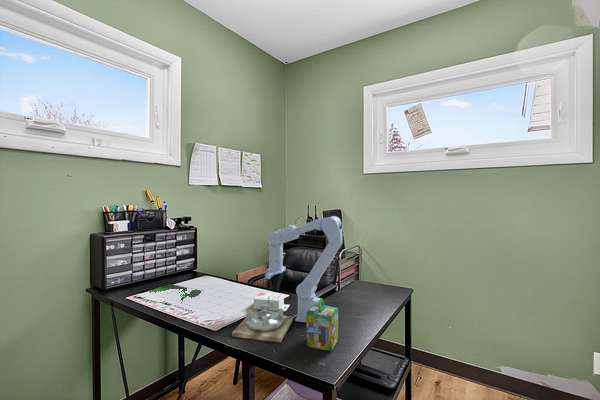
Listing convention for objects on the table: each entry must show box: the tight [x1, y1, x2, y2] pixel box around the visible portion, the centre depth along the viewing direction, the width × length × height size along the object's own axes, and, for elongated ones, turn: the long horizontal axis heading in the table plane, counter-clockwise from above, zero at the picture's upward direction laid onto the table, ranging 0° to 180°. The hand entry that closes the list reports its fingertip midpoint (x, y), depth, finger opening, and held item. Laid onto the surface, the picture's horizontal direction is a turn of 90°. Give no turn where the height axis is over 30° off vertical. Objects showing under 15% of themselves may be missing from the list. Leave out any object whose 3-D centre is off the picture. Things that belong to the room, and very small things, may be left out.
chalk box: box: [305, 297, 339, 353], centre depth 97 cm, size 9×9×15 cm
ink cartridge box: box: [253, 292, 290, 312], centre depth 128 cm, size 9×5×15 cm
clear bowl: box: [245, 304, 284, 332], centre depth 108 cm, size 14×14×5 cm
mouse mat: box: [148, 283, 203, 306], centre depth 143 cm, size 27×22×1 cm
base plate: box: [231, 311, 294, 343], centre depth 108 cm, size 18×18×2 cm
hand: (275, 291), depth 121 cm, fingers closed
